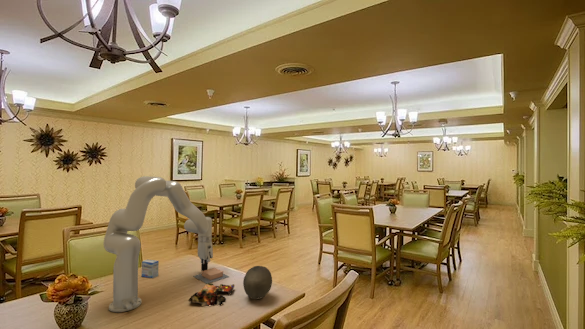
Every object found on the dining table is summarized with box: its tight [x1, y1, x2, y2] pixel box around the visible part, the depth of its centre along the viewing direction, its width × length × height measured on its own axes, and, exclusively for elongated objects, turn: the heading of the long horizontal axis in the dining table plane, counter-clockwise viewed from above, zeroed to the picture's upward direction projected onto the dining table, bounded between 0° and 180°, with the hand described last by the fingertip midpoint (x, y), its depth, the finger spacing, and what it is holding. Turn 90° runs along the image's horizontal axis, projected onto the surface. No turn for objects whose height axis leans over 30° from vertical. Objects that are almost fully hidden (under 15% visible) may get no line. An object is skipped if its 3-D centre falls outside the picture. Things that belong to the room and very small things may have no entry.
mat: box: [193, 273, 230, 285], centre depth 165 cm, size 15×14×1 cm
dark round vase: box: [242, 265, 273, 300], centre depth 139 cm, size 14×14×15 cm
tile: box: [201, 267, 224, 280], centre depth 165 cm, size 3×8×9 cm
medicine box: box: [141, 259, 160, 279], centre depth 164 cm, size 8×4×9 cm, turn 73°
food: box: [187, 283, 235, 307], centre depth 141 cm, size 22×19×4 cm
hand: (204, 270), depth 170 cm, fingers closed
